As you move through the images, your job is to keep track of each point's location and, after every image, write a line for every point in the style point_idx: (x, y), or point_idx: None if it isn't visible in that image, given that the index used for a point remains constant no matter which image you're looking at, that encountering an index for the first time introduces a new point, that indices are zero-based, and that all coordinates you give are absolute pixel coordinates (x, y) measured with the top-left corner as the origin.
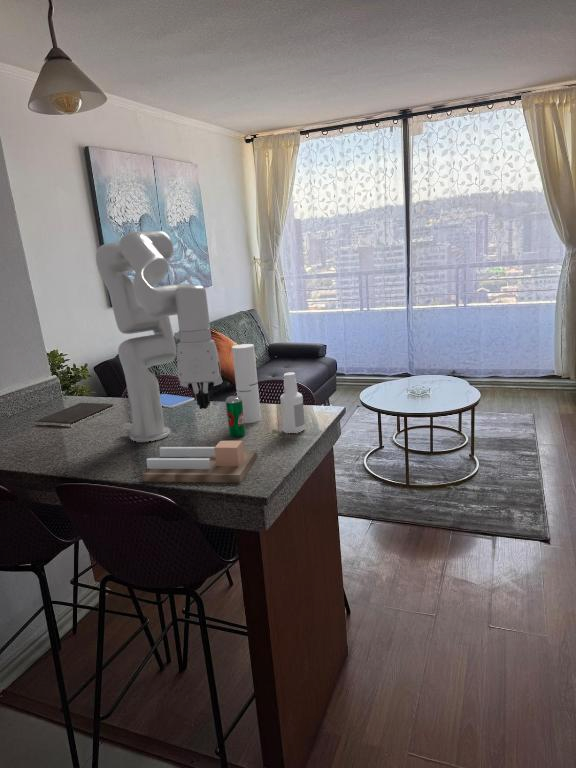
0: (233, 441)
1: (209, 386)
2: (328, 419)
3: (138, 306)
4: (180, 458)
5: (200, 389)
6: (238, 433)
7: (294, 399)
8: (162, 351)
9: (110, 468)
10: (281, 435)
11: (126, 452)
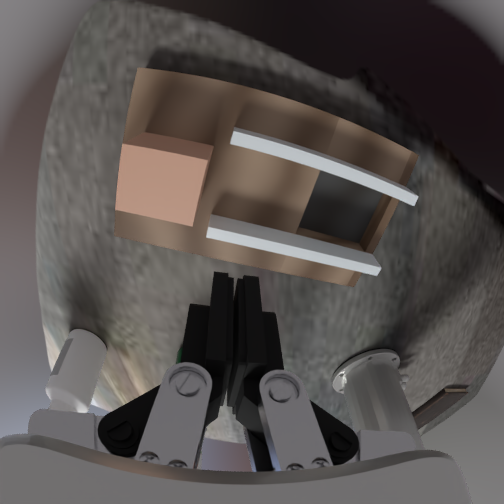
0: (143, 208)
1: (143, 420)
2: (54, 361)
3: None
4: (330, 171)
5: (245, 416)
6: None
7: (51, 385)
8: None
9: (452, 246)
10: (102, 330)
11: (415, 313)
